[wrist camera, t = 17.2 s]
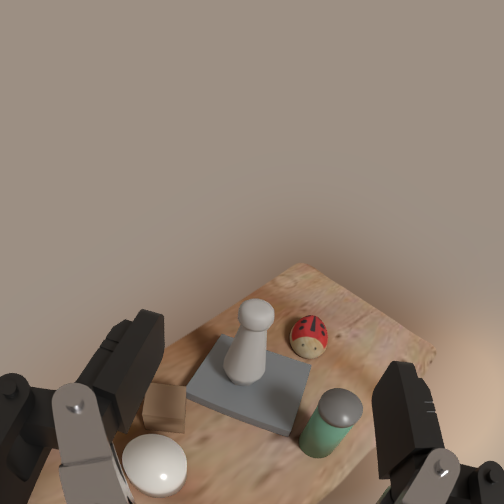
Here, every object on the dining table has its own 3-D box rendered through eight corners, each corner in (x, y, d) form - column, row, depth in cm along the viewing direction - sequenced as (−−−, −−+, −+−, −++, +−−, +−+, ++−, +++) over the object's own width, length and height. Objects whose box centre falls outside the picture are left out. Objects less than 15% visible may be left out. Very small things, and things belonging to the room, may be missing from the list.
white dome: (117, 478, 27) (110, 467, 25) (145, 438, 33) (142, 424, 31) (170, 508, 26) (168, 499, 24) (196, 463, 32) (197, 451, 30)
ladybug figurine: (286, 356, 50) (291, 341, 49) (291, 319, 59) (296, 304, 57) (325, 364, 50) (332, 350, 48) (326, 327, 58) (331, 312, 57)
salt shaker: (216, 383, 41) (226, 313, 35) (228, 356, 46) (240, 286, 40) (257, 396, 41) (277, 328, 34) (266, 367, 46) (286, 299, 39)
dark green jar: (293, 452, 35) (315, 417, 30) (303, 422, 39) (324, 383, 35) (331, 462, 34) (360, 429, 29) (338, 432, 38) (364, 394, 34)
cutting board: (183, 396, 40) (183, 390, 39) (221, 340, 51) (221, 333, 50) (287, 436, 37) (290, 431, 36) (308, 371, 48) (311, 365, 47)
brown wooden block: (145, 429, 34) (142, 414, 32) (149, 399, 39) (147, 382, 37) (184, 434, 35) (184, 419, 33) (186, 403, 39) (186, 386, 38)
